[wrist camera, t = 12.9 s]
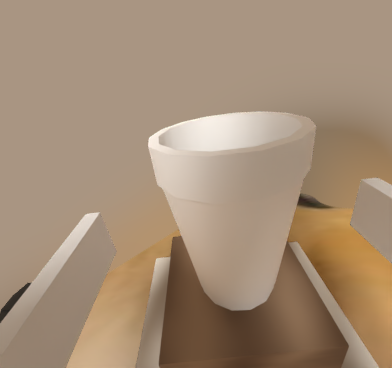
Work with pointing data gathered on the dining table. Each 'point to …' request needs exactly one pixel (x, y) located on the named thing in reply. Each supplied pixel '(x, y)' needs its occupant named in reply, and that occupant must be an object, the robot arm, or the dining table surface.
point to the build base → (247, 322)
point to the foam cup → (234, 196)
